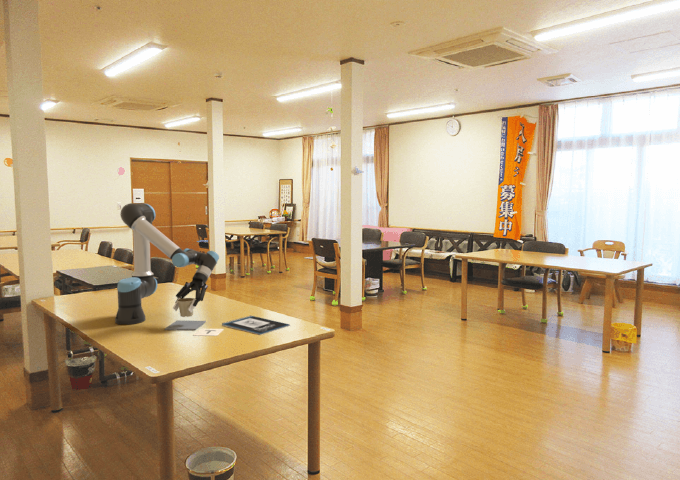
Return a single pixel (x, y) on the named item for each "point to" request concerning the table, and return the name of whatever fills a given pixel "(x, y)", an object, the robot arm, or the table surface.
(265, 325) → the sketchbook
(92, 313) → the table surface
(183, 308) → the flower pot
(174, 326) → the rubber mat
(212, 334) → the letter tile
